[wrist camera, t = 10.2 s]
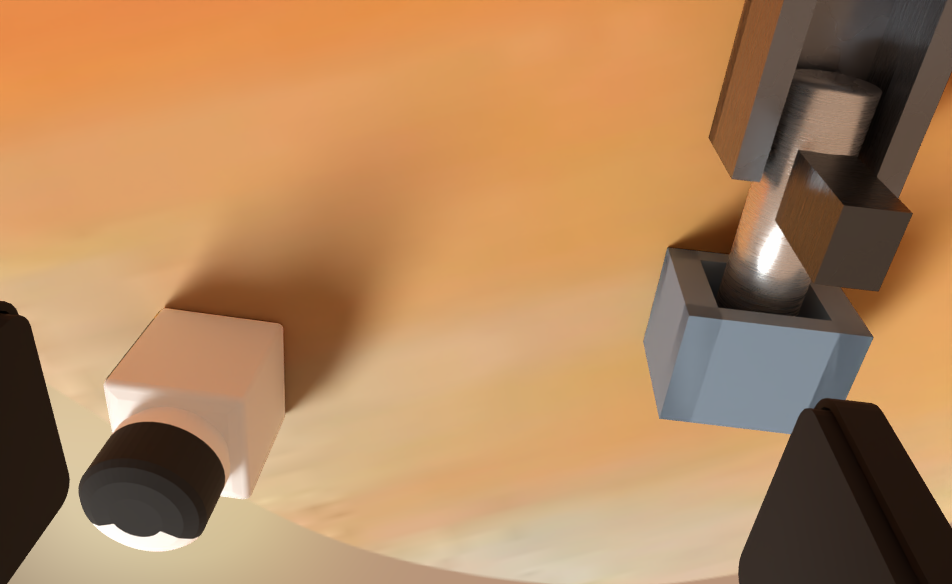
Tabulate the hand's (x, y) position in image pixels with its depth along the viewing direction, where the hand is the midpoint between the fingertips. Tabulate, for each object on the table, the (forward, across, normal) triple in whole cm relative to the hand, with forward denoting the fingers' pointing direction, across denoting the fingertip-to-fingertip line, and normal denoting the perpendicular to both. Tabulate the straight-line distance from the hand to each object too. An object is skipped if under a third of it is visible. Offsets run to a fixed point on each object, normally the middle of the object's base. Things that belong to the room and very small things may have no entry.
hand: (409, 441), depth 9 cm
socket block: (+28, -14, +14) cm, 35 cm away
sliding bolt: (+27, -14, +8) cm, 31 cm away
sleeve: (+28, -14, -1) cm, 32 cm away
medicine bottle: (+28, +14, +22) cm, 39 cm away
